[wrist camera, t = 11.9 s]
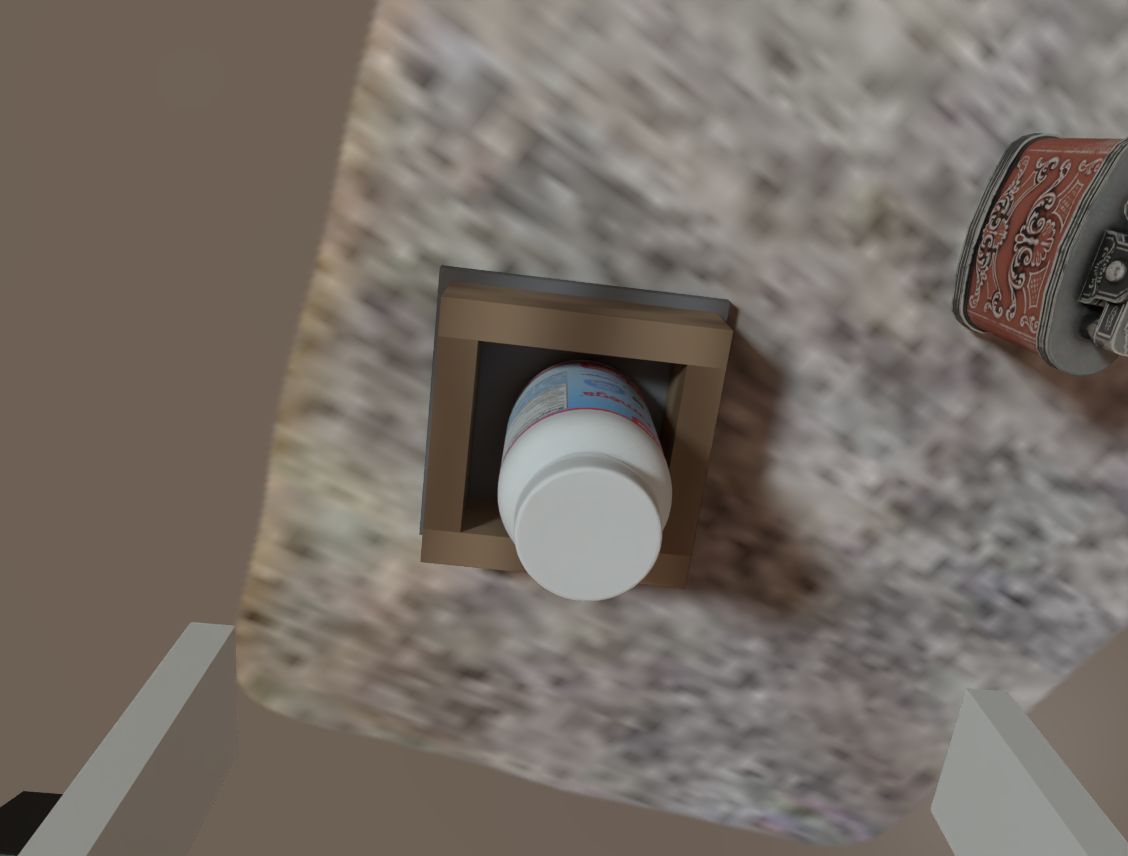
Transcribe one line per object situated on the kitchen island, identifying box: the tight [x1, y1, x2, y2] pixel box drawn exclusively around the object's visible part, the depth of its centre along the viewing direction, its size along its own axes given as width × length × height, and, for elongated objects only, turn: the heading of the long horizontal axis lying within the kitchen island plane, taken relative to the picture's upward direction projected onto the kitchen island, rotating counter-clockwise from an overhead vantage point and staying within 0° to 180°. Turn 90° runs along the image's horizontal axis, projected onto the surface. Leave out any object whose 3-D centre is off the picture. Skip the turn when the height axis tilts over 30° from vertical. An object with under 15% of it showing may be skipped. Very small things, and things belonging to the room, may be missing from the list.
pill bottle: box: [498, 360, 672, 601], centre depth 32 cm, size 6×6×11 cm
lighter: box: [952, 133, 1128, 376], centre depth 31 cm, size 8×3×10 cm, turn 168°
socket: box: [420, 265, 733, 589], centre depth 36 cm, size 12×12×4 cm
